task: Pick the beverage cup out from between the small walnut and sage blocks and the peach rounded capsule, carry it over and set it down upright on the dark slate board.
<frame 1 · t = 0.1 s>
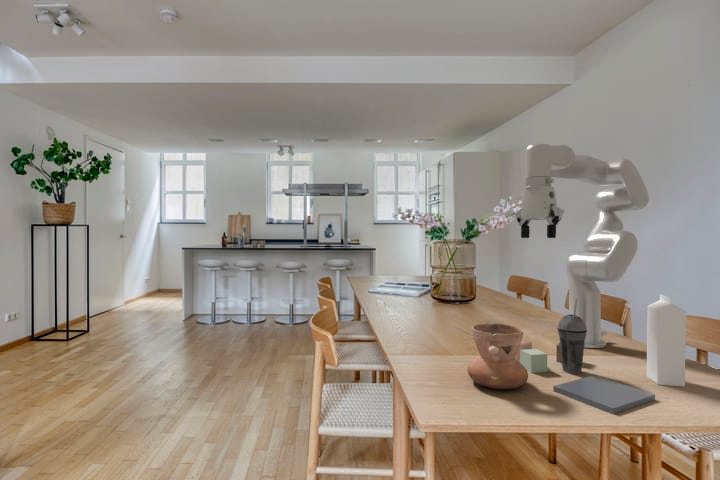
hand: (537, 237, 126), 37 cm above the table, tool pointing down, fingers open, 9 cm apart
ceramic jug: (497, 383, 101), on the table
peach rounded capsule: (520, 362, 117), on the table
slate board: (602, 395, 93), on the table
beverage cup: (571, 371, 109), on the table
sage block: (533, 369, 111), on the table
milk: (665, 382, 102), on the table
walnut block: (568, 361, 118), on the table
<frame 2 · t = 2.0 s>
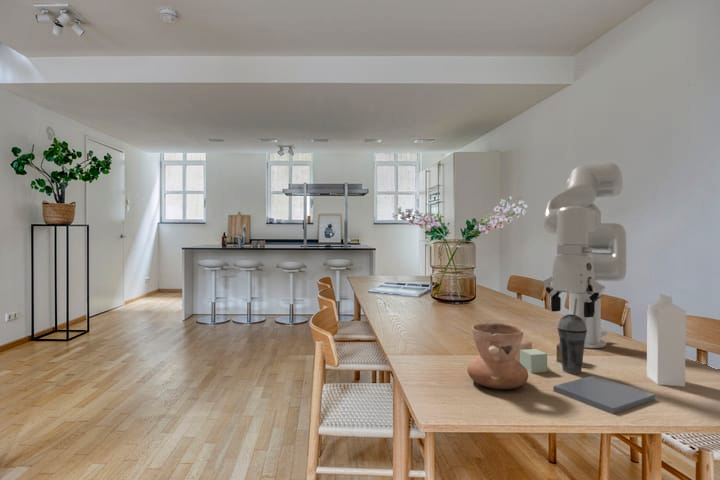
hand: (571, 313, 109), 16 cm above the table, tool pointing down, fingers open, 9 cm apart
nothing on the table moved.
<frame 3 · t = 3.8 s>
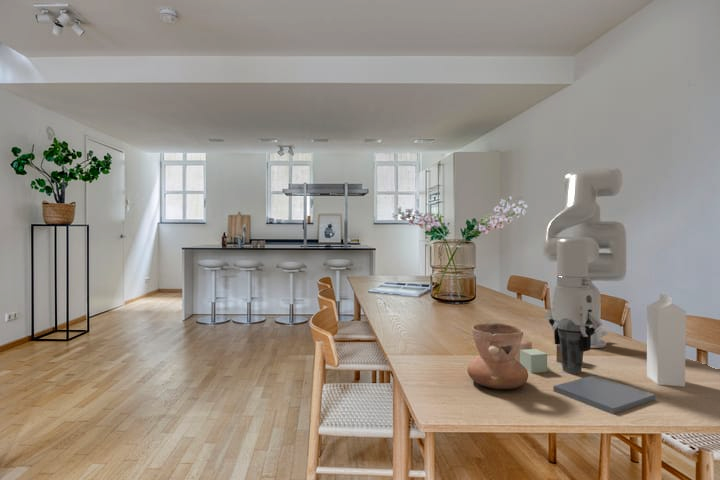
hand: (571, 346, 109), 7 cm above the table, tool pointing down, fingers closed on beverage cup, 7 cm apart
beverage cup: (571, 371, 109), on the table, touching gripper
everything else where it was.
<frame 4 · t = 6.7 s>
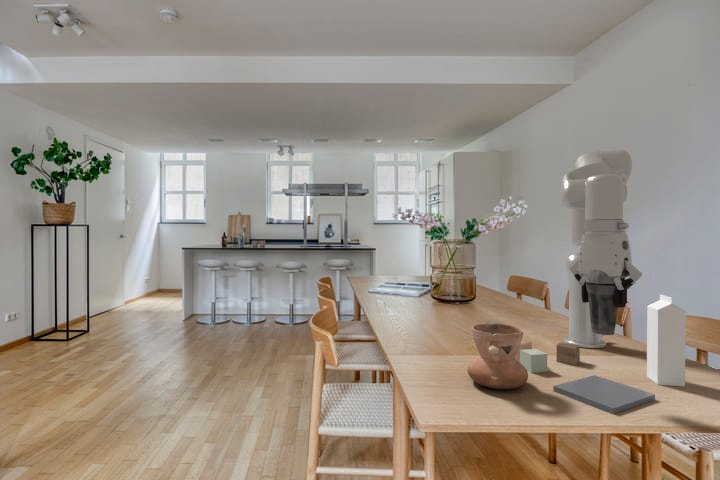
hand: (603, 303, 93), 21 cm above the table, tool pointing down, fingers closed on beverage cup, 7 cm apart
beverage cup: (602, 333, 93), point 14 cm above the table, touching gripper
everything else where it was.
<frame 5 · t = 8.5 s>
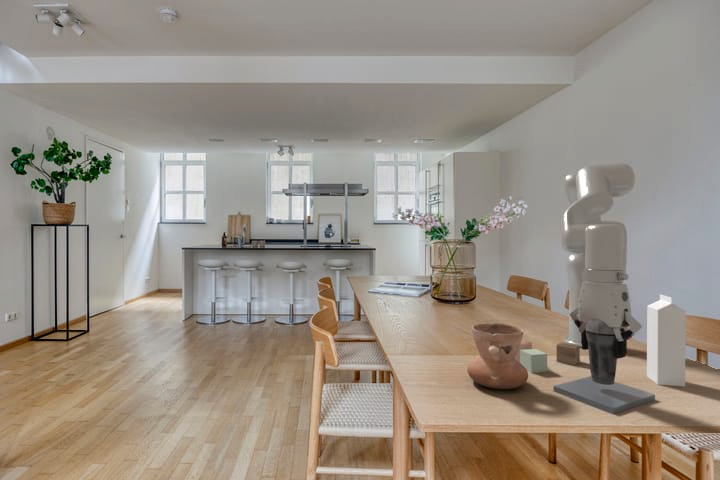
hand: (602, 352, 93), 10 cm above the table, tool pointing down, fingers closed on beverage cup, 7 cm apart
beverage cup: (602, 382, 93), point 3 cm above the table, touching gripper
everything else where it was.
when the fingers open (9 cm above the table, at t = 9.8 s): beverage cup stays where it is, resting on slate board.
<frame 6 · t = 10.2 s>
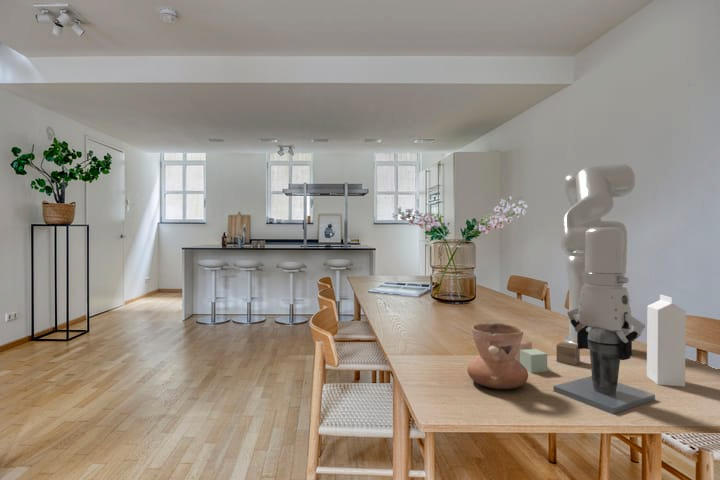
hand: (603, 353, 93), 10 cm above the table, tool pointing down, fingers open, 9 cm apart
beverage cup: (604, 391, 92), point 1 cm above the table, touching slate board
everything else where it was.
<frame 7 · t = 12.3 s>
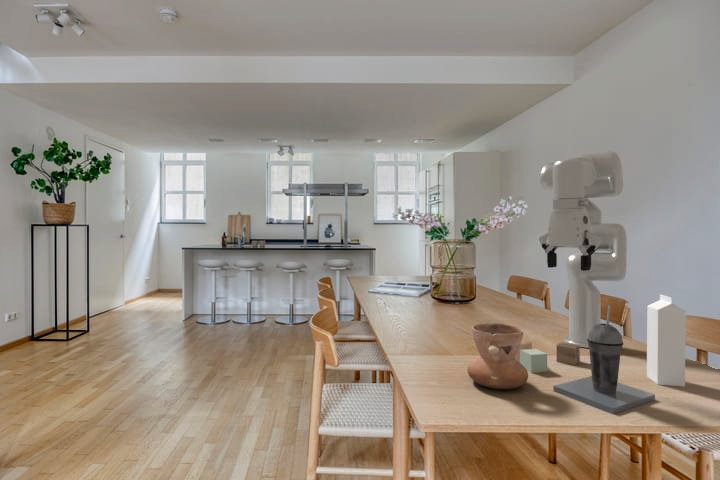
hand: (568, 268, 108), 28 cm above the table, tool pointing down, fingers open, 9 cm apart
nothing on the table moved.
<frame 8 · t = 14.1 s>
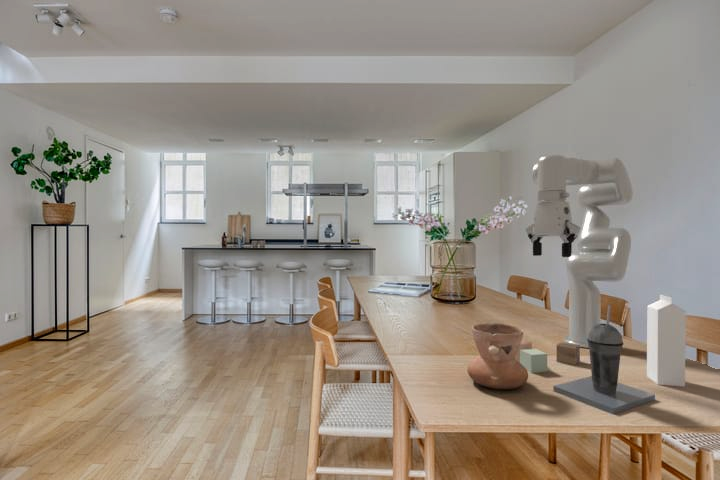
hand: (551, 256, 117), 31 cm above the table, tool pointing down, fingers open, 9 cm apart
nothing on the table moved.
at the end: beverage cup inside the target area on the slate board (0.4 cm from its centre), point 1.0 cm above the slate board's base; beverage cup tilted 0°; the gripper is holding nothing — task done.
